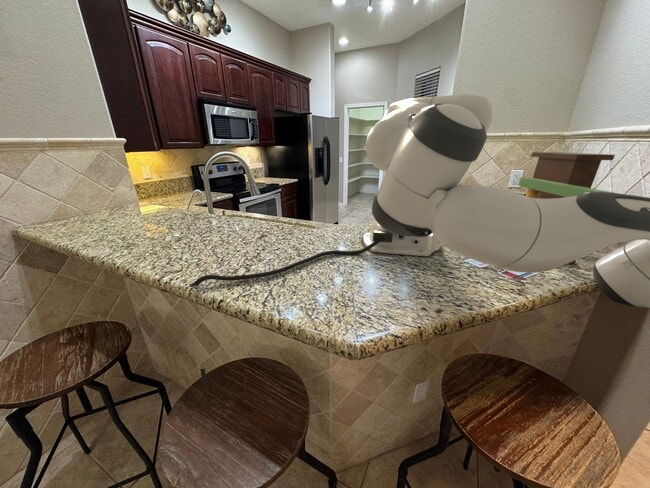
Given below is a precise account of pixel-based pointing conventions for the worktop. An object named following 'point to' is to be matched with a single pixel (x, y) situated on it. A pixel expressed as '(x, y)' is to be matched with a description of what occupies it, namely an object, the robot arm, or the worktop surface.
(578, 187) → the green bar
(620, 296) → the robot arm
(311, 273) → the worktop surface
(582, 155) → the walnut pedestal
